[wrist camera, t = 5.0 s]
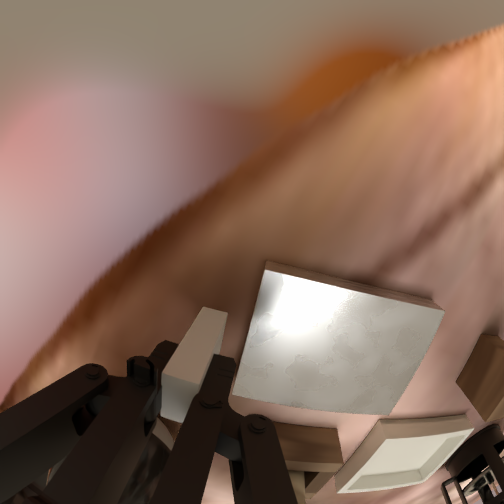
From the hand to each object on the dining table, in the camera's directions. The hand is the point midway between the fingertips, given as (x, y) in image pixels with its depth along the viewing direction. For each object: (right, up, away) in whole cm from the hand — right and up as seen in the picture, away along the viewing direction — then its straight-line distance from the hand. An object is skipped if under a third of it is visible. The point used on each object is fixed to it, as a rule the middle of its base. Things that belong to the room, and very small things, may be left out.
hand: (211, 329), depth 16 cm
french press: (+32, -22, +4) cm, 39 cm away
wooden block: (+23, -5, +1) cm, 23 cm away
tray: (+18, -16, +4) cm, 24 cm away
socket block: (+5, -13, +4) cm, 15 cm away
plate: (+8, -2, +2) cm, 8 cm away
